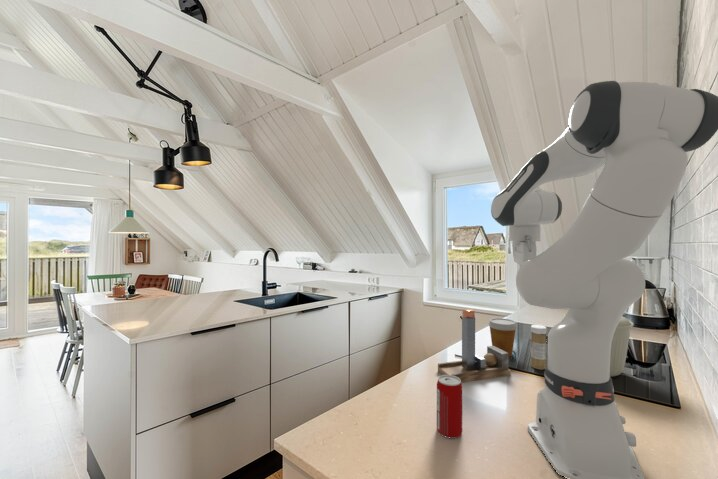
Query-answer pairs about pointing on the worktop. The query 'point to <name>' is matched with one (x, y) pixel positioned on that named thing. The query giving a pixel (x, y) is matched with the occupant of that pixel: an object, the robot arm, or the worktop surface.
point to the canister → (619, 346)
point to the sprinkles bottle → (538, 346)
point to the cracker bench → (494, 368)
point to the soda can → (449, 406)
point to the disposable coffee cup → (503, 334)
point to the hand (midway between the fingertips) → (524, 279)
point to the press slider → (470, 343)
